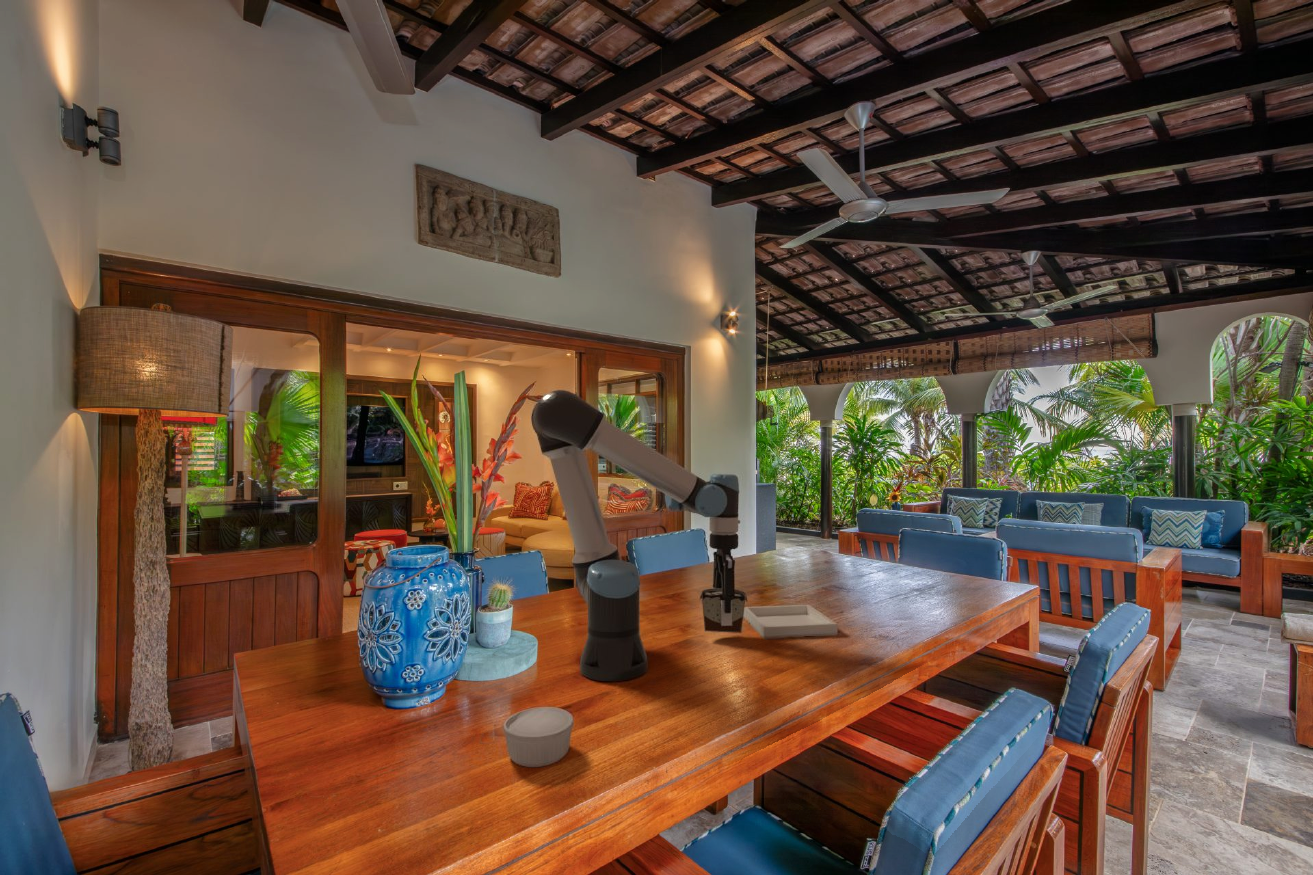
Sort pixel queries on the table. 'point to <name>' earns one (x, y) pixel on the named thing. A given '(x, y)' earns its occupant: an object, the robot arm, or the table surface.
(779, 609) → the tray
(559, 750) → the ramekin
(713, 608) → the grey brown half-round piece
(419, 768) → the table surface
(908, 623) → the table surface
